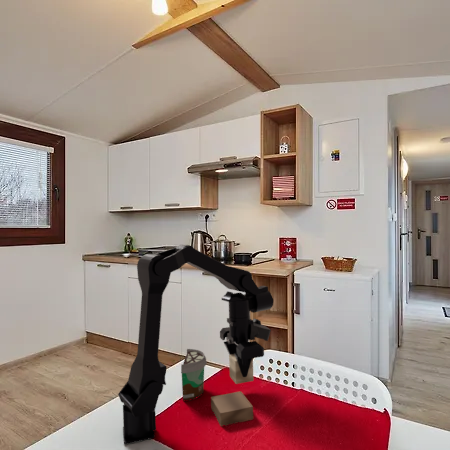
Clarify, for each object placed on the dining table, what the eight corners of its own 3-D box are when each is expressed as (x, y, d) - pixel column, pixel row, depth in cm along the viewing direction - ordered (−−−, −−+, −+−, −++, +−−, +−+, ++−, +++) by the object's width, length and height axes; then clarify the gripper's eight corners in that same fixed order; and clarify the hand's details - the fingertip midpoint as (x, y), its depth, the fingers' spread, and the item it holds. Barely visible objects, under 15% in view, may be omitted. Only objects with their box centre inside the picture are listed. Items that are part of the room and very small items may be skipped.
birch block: (235, 384, 92) (235, 361, 92) (229, 376, 96) (229, 354, 96) (253, 380, 93) (252, 358, 93) (246, 373, 98) (245, 352, 98)
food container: (205, 403, 90) (204, 364, 90) (182, 404, 90) (180, 365, 90) (209, 381, 102) (208, 347, 102) (188, 382, 102) (187, 348, 102)
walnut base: (220, 426, 79) (220, 413, 79) (211, 409, 87) (210, 397, 87) (253, 419, 82) (252, 406, 82) (241, 402, 89) (240, 391, 89)
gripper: (282, 320, 88) (283, 382, 88) (253, 305, 106) (255, 356, 106) (241, 326, 85) (242, 390, 85) (218, 309, 103) (220, 361, 103)
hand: (241, 372), depth 95 cm, fingers closed on birch block, 5 cm apart
